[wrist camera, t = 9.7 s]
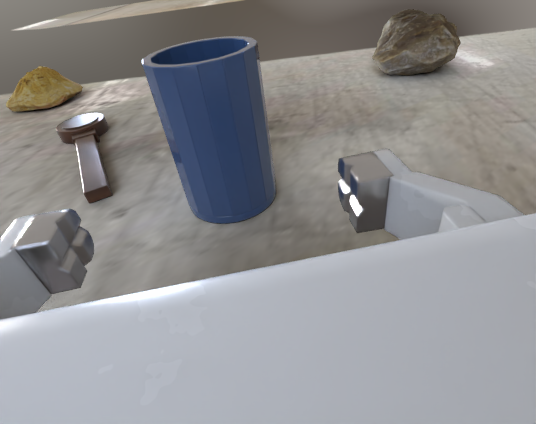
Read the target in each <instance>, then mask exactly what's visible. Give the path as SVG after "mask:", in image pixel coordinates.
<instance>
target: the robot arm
mask: <svg viewBox="0 0 536 424" xmlns="http://www.w3.org/2000/svg"><path fill="white" fill-rule="evenodd" d="M338 172H339V173H340V175H341V177H342V178H341V180H340V181H339V183H338V193H339V199H340V202H341V205H342V207H343V209H344V211H346V212H348V213H349V220H350V222H351V224H352V225H353V227H354V229H355V231H356V232H357V233H361V232H367V231H373V230H379V229H384V230H386V231H387V232H389V233H391V234H392V235H394V236H396V237H397V238H399V239H401V240H398V241H393V242H388V243H383V244H378V245H373V246H368V247H363V248H358V249H353V250H348V251H343V252H338V253H333V254H328V255H323V256H318V257H313V258H308V259H303V260H298V261H293V262H288V263H283V264H278V265H273V266H268V267H263V268H258V269H253V270H248V271H243V272H238V273H233V274H228V275H223V276H218V277H213V278H208V279H203V280H198V281H193V282H188V283H182V284H177V285H172V286H167V287H162V288H157V289H152V290H147V291H142V292H137V293H132V294H127V295H122V296H117V297H112V298H107V299H102V300H97V301H92V302H87V303H82V304H77V305H72V306H67V307H62V308H57V309H52V310H47V311H42V312H37V310H38V309H39V308H40V307H41V306H42V305H43V304H44V303H45V302H46V301H47V300H48V299H49V298H50V297H51V296H52V295H51V294H55V293H59V292H64V291H68V290H73V289H77V288H81V286H82V283H83V281H84V278H85V276H86V273H87V270H86V268H85V267H84V266H85V265H87V264H88V263H89V262H90V261H91V260H92V257H93V254H94V243H93V240H92V237H91V235H90V234H89V232H88V231H87V230H85V229H83V228H82V227H80V222H81V219H80V217H79V216H78V214H77V213H76V211H74V210H72V209H65V210H60V211H54V212H48V213H42V214H37V215H35V214H34V215H30V216H25V217H20V218H17V219H15V220H14V222H13V223H12V224H11V226H10V227H9V228H8V230H7V231H6V232H5V234H4V235H3V236H2V237H1V239H0V424H536V213H534V214H529V215H524V214H522V213H521V212H520V211H519V210H517V209H516V208H515V207H514V206H512V205H511V204H510V203H509V202H507V201H506V200H505V199H504V198H502V197H501V196H499V195H496V194H493V193H489V192H486V191H482V190H479V189H475V188H472V187H469V186H465V185H462V184H458V183H455V182H452V181H448V180H445V179H441V178H438V177H434V176H431V175H428V174H424V173H421V172H412V171H411V170H410V169H409V168H408V167H407V166H406V165H405V164H404V163H403V162H402V161H401V160H400V159H399V158H398V157H397V156H396V155H395V154H394V153H393V152H392V151H391V150H390V149H387V148H385V149H381V150H376V151H372V152H367V153H362V154H358V155H353V156H348V157H343V158H340V159H339V162H338ZM36 312H37V313H36Z"/></svg>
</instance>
